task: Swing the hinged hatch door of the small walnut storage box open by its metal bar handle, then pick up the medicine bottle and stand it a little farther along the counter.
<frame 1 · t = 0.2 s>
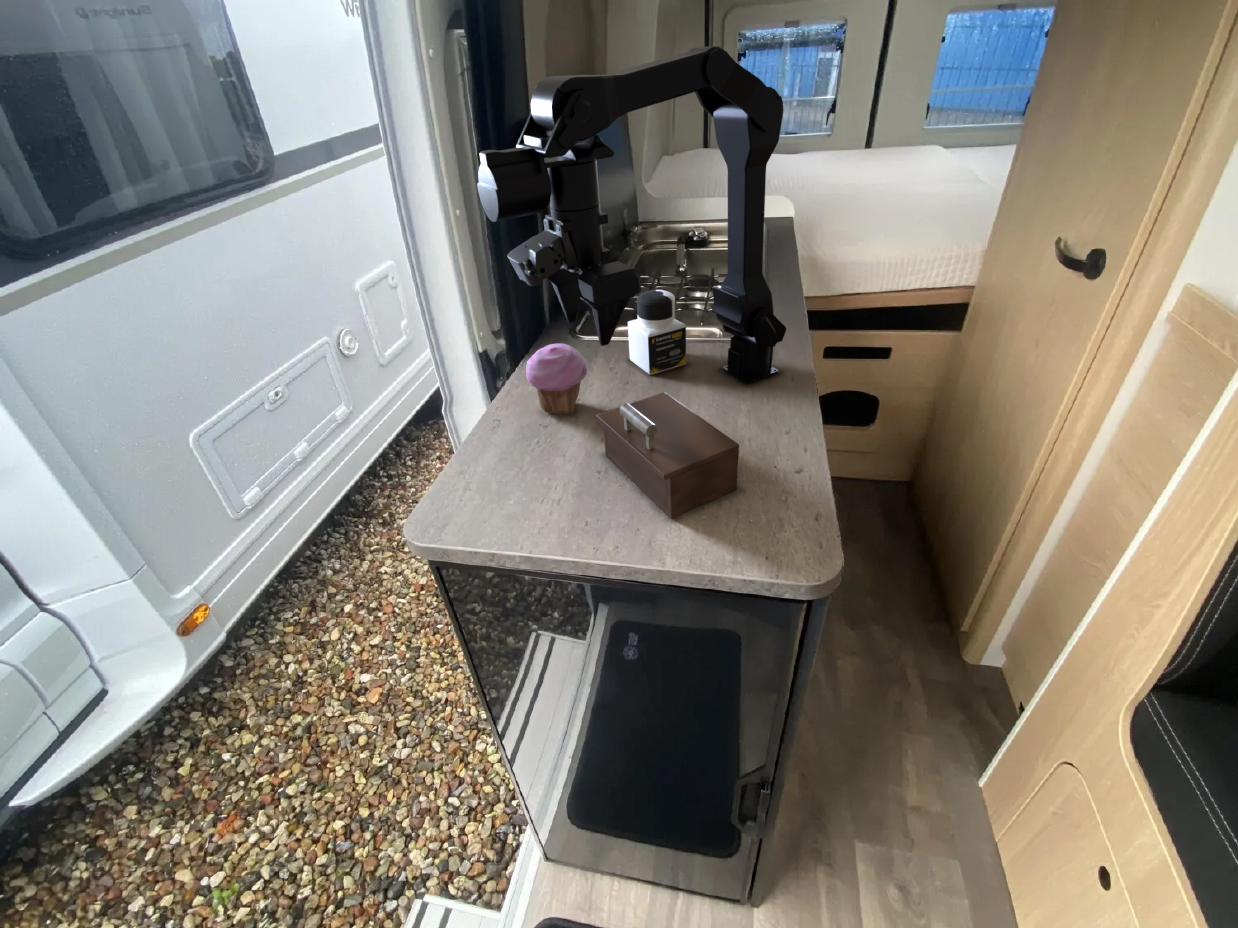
hand: (587, 332, 79), 15 cm above the countertop, tool pointing down, fingers open, 9 cm apart
medicine bottle: (657, 363, 103), on the countertop
hatch: (664, 419, 73), point 8 cm above the countertop, hinge at 0.0°
cupcake: (562, 408, 93), on the countertop
storage box: (667, 472, 78), on the countertop
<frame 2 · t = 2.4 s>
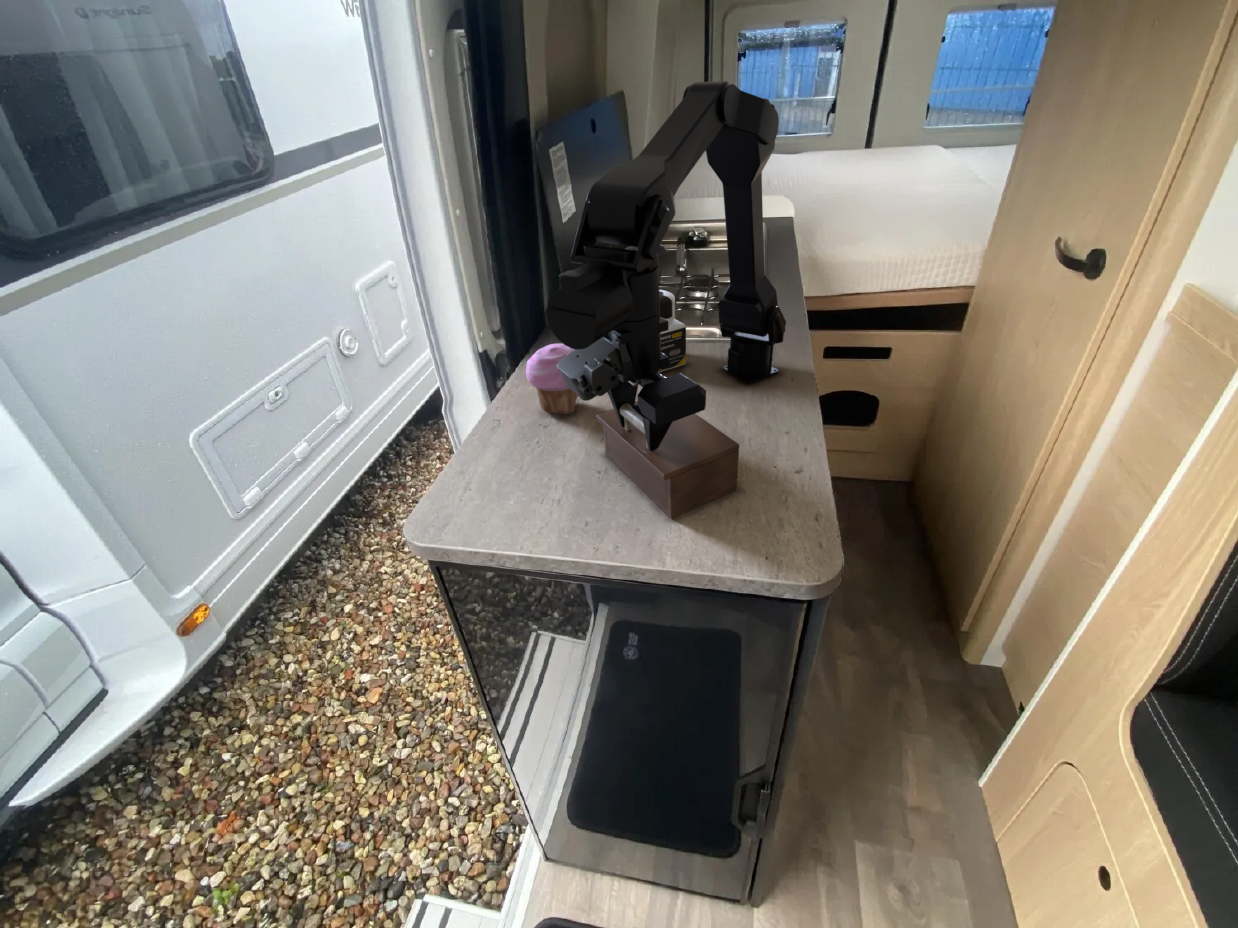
hand: (638, 437, 72), 7 cm above the countertop, tool pointing down, fingers closed on hatch, 6 cm apart
hatch: (664, 419, 73), point 8 cm above the countertop, hinge at 0.0°, touching gripper
everything else where it was.
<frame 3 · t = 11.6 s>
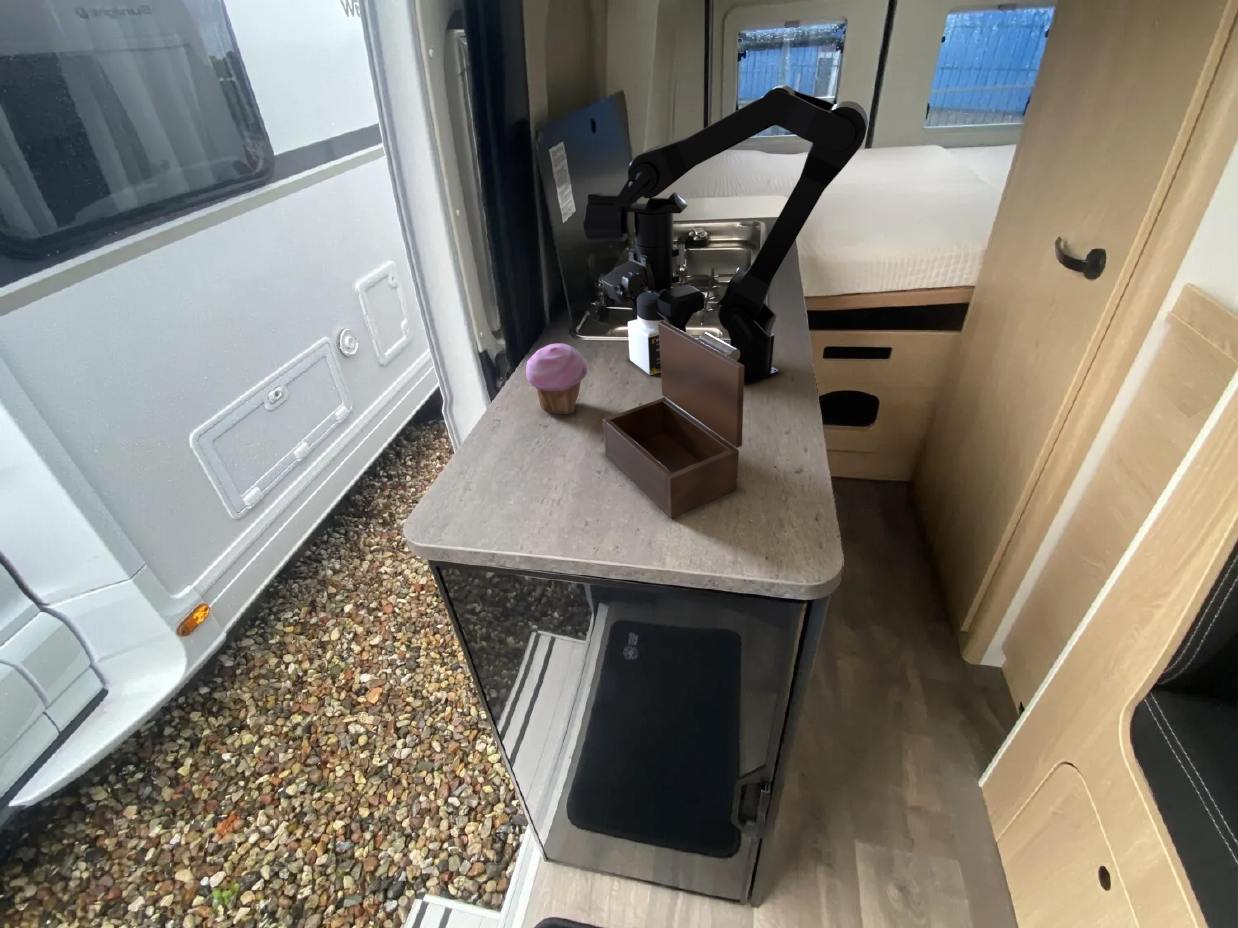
hand: (656, 338, 101), 4 cm above the countertop, tool pointing down
medicine bottle: (657, 363, 103), on the countertop, touching gripper
hatch: (710, 377, 73), point 12 cm above the countertop, hinge at 88.0°
everything else where it was.
when the fingers open (5 cm above the countertop, at t = 16.4 s): medicine bottle stays where it is, on the countertop.
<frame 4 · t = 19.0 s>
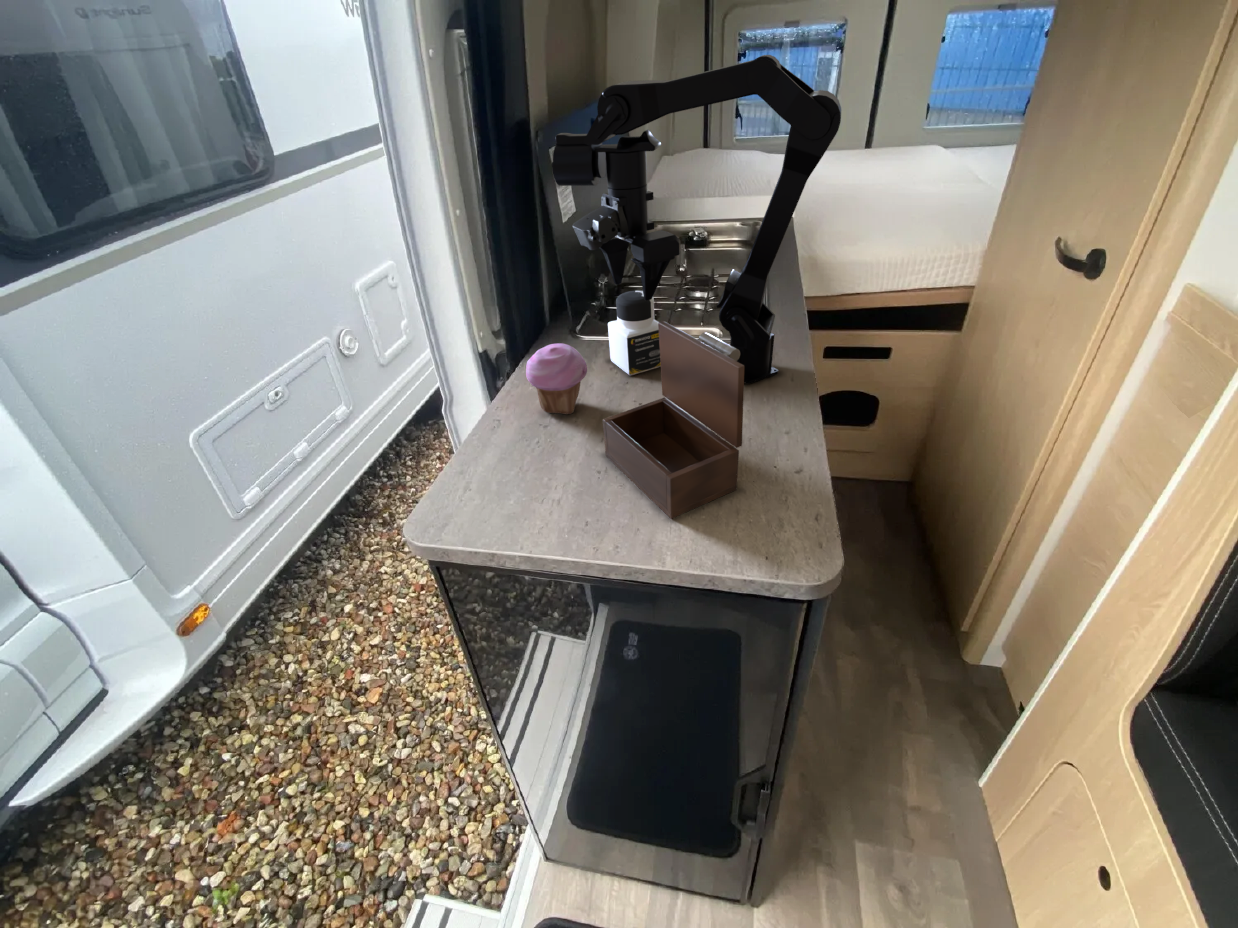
hand: (632, 291, 96), 12 cm above the countertop, tool pointing down, fingers open, 9 cm apart
medicine bottle: (638, 364, 103), on the countertop
everything else where it was.
at the end: hatch at +88° (first picture: +0°); medicine bottle inside the target area (0.3 cm from its centre), on the countertop; medicine bottle tilted 0° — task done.
